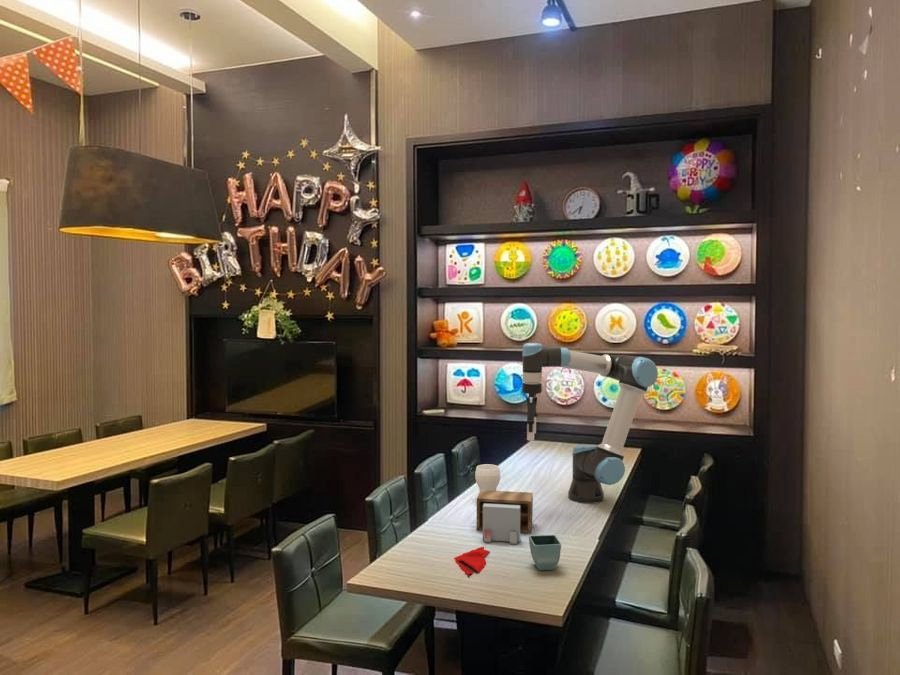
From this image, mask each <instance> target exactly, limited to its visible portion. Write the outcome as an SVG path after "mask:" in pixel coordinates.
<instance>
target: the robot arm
mask: <svg viewBox="0 0 900 675" xmlns="http://www.w3.org/2000/svg"><path fill="white" fill-rule="evenodd" d="M521 354H522V373H521V374H520V377H522V382H523V383H522V384H521V385H522V387H521V388H522V390H521V391H522V393H523V394H526V395H527V394H528V396H527V397H526V408H527V415H526V416H527V417H526V418H527V419H526V421H525V424H527V425H526V440H527V441H529V442H530V441H535V434H537V417H538V416H539V414H537V405H538V404H537V402H538V397H537V394H539V395H540V394H541V393H542V390H543V384H542V382H543V368H556V367H557V368H563V369H570V370H575V371H581V372H583V371H584V372H587V373H588V372H589V373H595V374H599V376H602V377H604V378H605V377H606V378H609V379H612V380H615V381H618V386H619V388H620V389H619V392H618V395H617V398H616V401H615V404H614V407H613V410H612V413H611V416H610V418H609V422H608V424H607V427H606V430H605V433H604V436H603V437H602V438H603V439H602V441H601V443H599V444H579V445H578V444H577V445H575V446H573V449H572V454H571V456H572V480H571V483H570V486H569V487H568V488H569V489H568V491H567V492H568V493H567V497H568V499H569V500H571V501H573V502H575V503H581V504H582V503H583V504H598V503H601V502H603V501H604V500H605V493H604V490H603V486H602V484H603V485H608V486H611V485H615V484H616V483H619V482H620V481H622V480H623V477H624V475H625V474H626V466H625V462H624V461H623V460H624V458H625V454H624V452H623V449H624V446H625V443H626V440H627V437H628V434H629V432H630V428H631V426H632V424H633V420H634V417H635V414H636V411H637V408H638V406H639V402H640V400H641V397H642V396H643V395H645V394H646V393H647V391H648V388H650V387H651V386H653V385H655V384H656V382H657V380H658V375H659V372H658V368H657V365H656V363H655V362H654V361H653V360H651V359H650V358H648V357H644V356H637V355H635V356H634V355H628V354H615V355H614V354H607V353H605V354H603V355H598V354H593V353H586V352H581V351H575V350H570V349H569V348H567V347H561V346H560V347H553V346H545V345H543V344H542V343H538V342H537V343H536V342H528V343H527V342H526V343H524V344H523V347H522V353H521Z"/></svg>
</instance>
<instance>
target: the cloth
mask: <svg viewBox="0 0 900 675" xmlns="http://www.w3.org/2000/svg"><path fill="white" fill-rule="evenodd" d="M489 553H491V551H489V550H487V549H485V546H481V547H478V548H475V549H472V550H469V551H467V552H463V553H462V554H460V555H458V556H455V557H454V558H453V560H454V562H455V564H457V566H458V567H459V568H460V570H461V571H462V572H464V575H465V576H467V578H469V579H470V577H469V576H470V575H473V574H474V573H475V572H477V573H478V574H480V573H481V572H482V571H483V570H484V568H485V567H486V566H487V560H486V556H488V554H489ZM469 567H470V568H469ZM472 569H473V570H472Z"/></svg>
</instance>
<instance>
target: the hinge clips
mask: <svg viewBox="0 0 900 675" xmlns="http://www.w3.org/2000/svg"><path fill="white" fill-rule="evenodd" d="M492 541H493V540H491V530H488V529H484V540H483V543H486V544H491V543H492ZM509 545H515V546H517V545H518V542H517V531H510V541H509Z"/></svg>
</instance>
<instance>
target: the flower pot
mask: <svg viewBox="0 0 900 675" xmlns="http://www.w3.org/2000/svg"><path fill="white" fill-rule="evenodd" d="M528 542H529V550H530V554H531V557H532V560H533V563H534V564H535V567H536V568H537V570H538V571H551V570H552V571H553V570H555V569H556V568H557V566H558V564H559V562H560V558H561V552H562V551H561V550H562V543H561V541H560V540H559V539H558V538H557V535H555V534H543V535H542V534H541V535H529V536H528Z"/></svg>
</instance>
